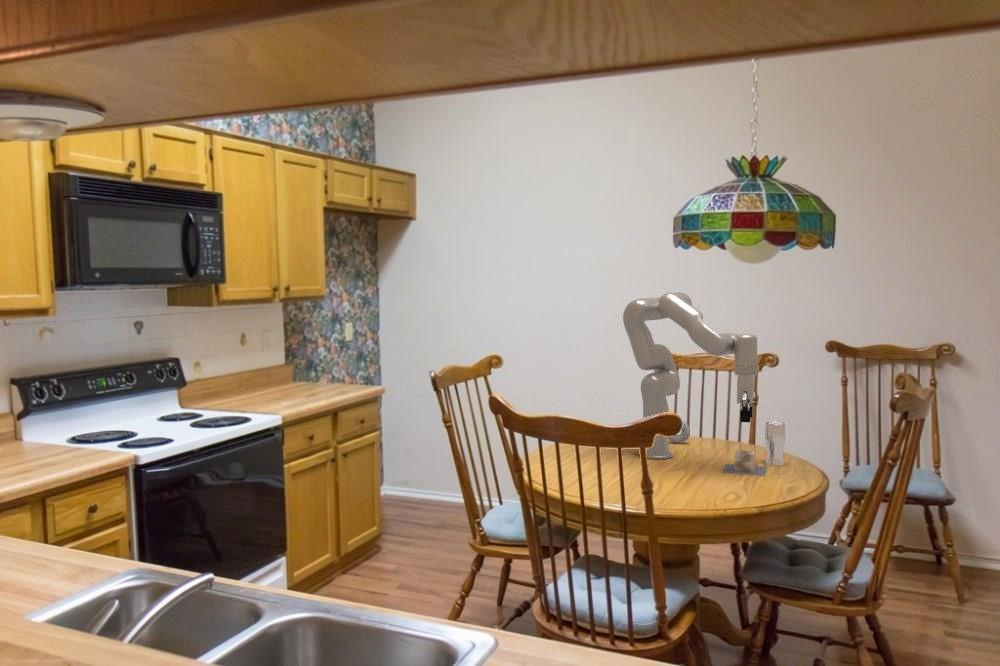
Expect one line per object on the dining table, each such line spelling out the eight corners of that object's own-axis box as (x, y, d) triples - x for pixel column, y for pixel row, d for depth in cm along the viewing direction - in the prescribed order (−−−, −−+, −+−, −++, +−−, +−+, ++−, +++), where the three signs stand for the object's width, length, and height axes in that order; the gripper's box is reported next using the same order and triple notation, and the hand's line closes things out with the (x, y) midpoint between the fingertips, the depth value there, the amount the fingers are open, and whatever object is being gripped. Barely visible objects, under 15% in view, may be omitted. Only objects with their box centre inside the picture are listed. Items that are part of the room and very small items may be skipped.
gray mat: (721, 474, 255) (721, 472, 255) (725, 464, 268) (725, 463, 268) (765, 477, 250) (765, 476, 250) (767, 468, 262) (767, 466, 262)
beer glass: (782, 462, 270) (782, 421, 269) (787, 467, 263) (788, 425, 262) (762, 462, 271) (762, 421, 270) (767, 466, 264) (767, 424, 263)
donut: (664, 443, 306) (664, 419, 305) (665, 441, 309) (665, 417, 308) (689, 444, 302) (689, 420, 302) (690, 443, 305) (690, 418, 305)
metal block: (734, 470, 257) (735, 453, 257) (736, 466, 263) (736, 449, 262) (753, 472, 255) (753, 454, 254) (754, 468, 260) (754, 451, 260)
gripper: (736, 367, 266) (737, 415, 267) (732, 372, 250) (732, 423, 251) (758, 368, 263) (759, 416, 264) (755, 373, 247) (756, 424, 248)
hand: (746, 419), depth 257 cm, fingers open, 9 cm apart
